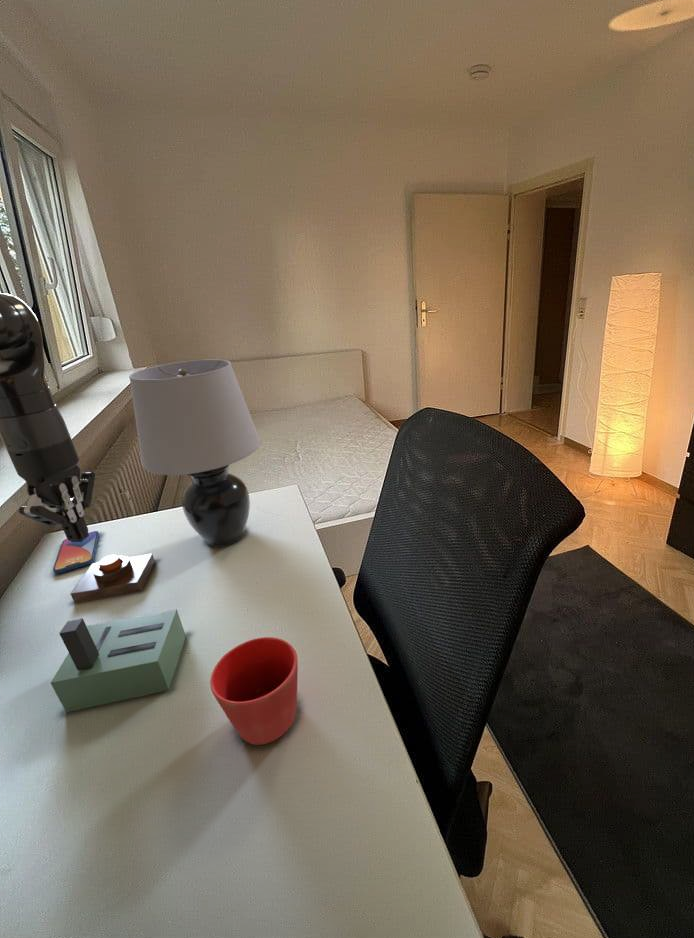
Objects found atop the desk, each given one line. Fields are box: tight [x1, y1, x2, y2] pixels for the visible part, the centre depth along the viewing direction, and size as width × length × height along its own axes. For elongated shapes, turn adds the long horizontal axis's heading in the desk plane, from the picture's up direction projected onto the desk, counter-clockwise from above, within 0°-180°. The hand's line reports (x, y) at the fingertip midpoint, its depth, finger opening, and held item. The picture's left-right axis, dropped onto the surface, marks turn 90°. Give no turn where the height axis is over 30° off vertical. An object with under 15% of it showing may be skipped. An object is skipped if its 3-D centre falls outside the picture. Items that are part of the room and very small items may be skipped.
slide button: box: [58, 618, 99, 670], centre depth 63 cm, size 2×2×7 cm
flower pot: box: [209, 636, 299, 746], centre depth 59 cm, size 11×11×10 cm
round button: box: [98, 554, 122, 572], centre depth 90 cm, size 4×4×2 cm
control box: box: [70, 553, 156, 603], centre depth 91 cm, size 12×10×4 cm
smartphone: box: [52, 530, 100, 574], centre depth 102 cm, size 7×15×1 cm, turn 29°
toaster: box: [50, 609, 187, 713], centre depth 69 cm, size 14×11×6 cm
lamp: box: [128, 358, 261, 547], centre depth 97 cm, size 24×24×40 cm
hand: (80, 539), depth 71 cm, fingers closed
